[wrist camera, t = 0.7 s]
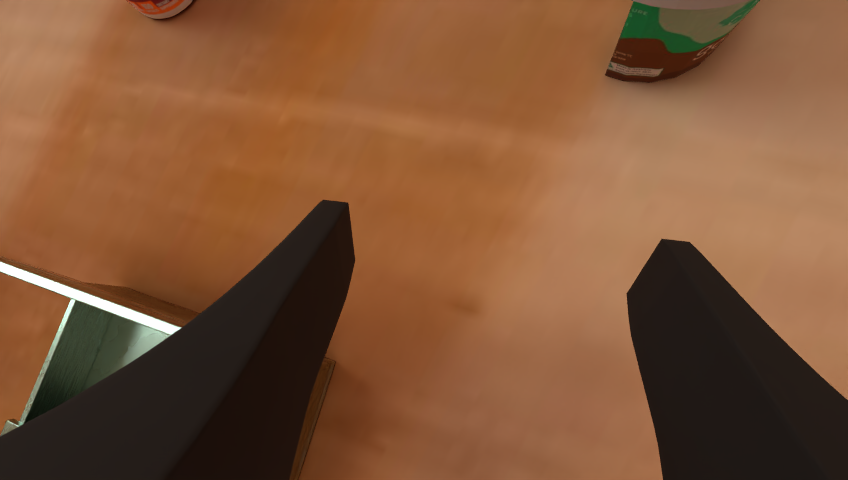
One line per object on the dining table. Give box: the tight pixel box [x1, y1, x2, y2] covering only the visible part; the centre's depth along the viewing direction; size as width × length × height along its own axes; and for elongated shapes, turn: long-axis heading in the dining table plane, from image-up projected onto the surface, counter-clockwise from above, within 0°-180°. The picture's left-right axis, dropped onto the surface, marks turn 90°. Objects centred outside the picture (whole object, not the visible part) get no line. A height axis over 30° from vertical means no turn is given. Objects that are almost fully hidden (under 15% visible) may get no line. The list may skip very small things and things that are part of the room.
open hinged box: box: [0, 283, 336, 480], centre depth 25 cm, size 17×17×4 cm
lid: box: [0, 256, 190, 335], centre depth 20 cm, size 17×8×1 cm
